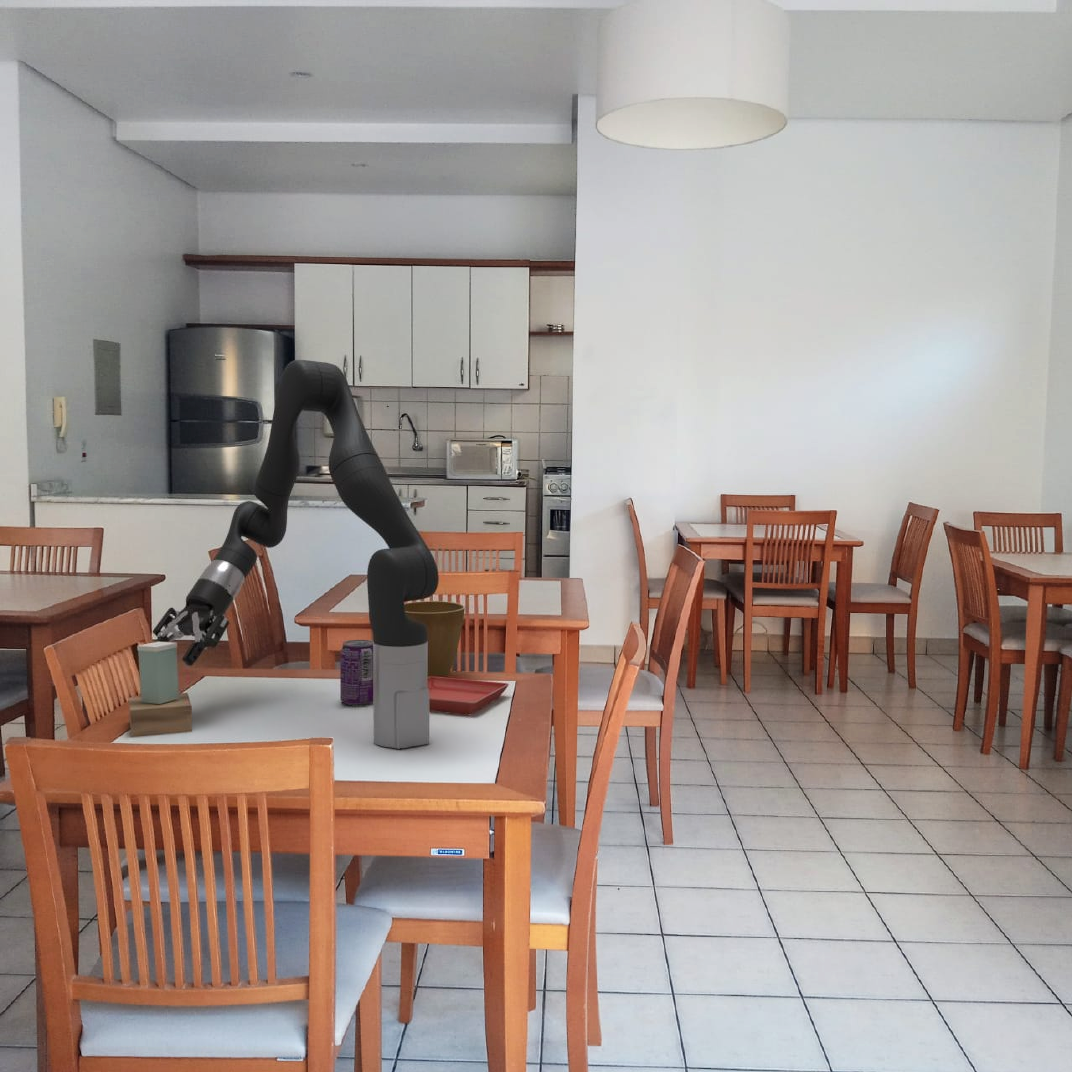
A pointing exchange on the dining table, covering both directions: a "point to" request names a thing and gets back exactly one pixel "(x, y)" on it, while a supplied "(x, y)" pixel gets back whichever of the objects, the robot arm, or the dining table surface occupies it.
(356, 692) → the beverage can
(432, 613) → the plant pot
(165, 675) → the tea tin
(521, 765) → the dining table surface
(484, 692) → the plant saucer
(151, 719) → the walnut box
